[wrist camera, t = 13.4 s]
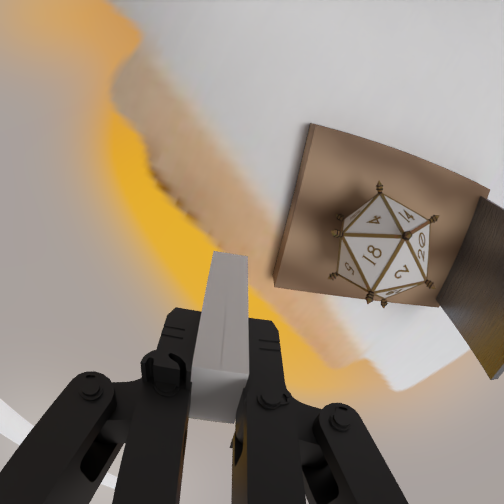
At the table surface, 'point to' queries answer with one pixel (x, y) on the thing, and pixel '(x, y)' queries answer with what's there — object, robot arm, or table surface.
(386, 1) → the table surface
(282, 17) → the table surface
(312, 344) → the table surface
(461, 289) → the bookend
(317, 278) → the shelf plank
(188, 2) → the table surface
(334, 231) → the game die
